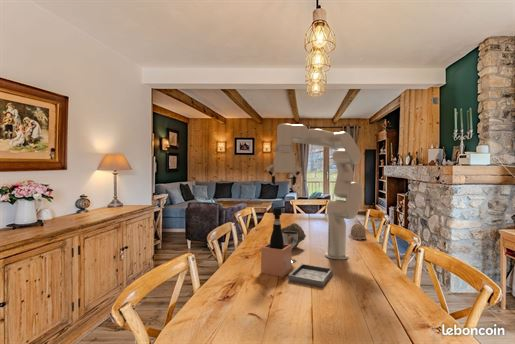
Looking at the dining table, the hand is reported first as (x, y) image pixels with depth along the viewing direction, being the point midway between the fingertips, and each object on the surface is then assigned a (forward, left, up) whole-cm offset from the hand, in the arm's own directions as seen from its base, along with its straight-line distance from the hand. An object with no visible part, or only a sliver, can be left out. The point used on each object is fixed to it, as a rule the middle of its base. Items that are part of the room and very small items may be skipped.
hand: (283, 184), depth 148 cm
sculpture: (-87, +22, -41) cm, 99 cm away
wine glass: (-13, -1, -41) cm, 43 cm away
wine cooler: (+5, -1, -41) cm, 41 cm away
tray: (+5, +16, -41) cm, 44 cm away
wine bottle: (+5, -1, -41) cm, 41 cm away
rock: (-34, -11, -41) cm, 55 cm away
